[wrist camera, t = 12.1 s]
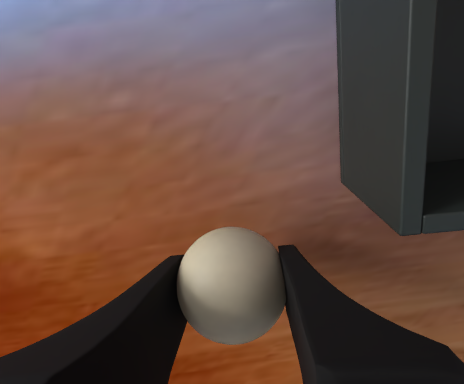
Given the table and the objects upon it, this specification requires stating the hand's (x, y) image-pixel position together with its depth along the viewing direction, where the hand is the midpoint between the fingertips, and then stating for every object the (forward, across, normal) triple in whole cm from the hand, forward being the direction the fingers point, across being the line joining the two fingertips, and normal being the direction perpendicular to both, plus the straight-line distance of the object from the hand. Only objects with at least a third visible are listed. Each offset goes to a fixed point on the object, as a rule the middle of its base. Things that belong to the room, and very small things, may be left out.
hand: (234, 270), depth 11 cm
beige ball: (-1, 0, 0) cm, 1 cm away
